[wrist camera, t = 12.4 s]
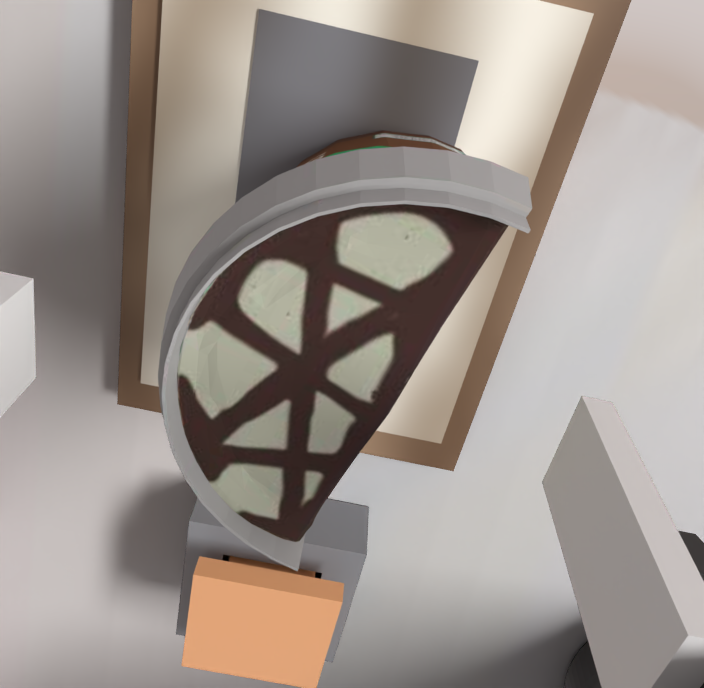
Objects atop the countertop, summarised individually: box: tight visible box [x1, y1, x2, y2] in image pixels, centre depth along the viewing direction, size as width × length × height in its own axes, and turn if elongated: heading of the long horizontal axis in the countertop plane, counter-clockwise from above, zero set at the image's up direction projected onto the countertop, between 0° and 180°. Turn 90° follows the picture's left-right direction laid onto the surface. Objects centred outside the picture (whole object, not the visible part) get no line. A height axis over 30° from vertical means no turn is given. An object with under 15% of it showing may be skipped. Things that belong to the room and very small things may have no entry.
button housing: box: [176, 498, 369, 662], centre depth 33 cm, size 8×8×3 cm
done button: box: [182, 556, 344, 688], centre depth 31 cm, size 6×6×4 cm
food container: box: [158, 130, 532, 571], centre depth 20 cm, size 12×6×10 cm, turn 153°
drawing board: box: [117, 0, 631, 471], centre depth 24 cm, size 15×20×1 cm
